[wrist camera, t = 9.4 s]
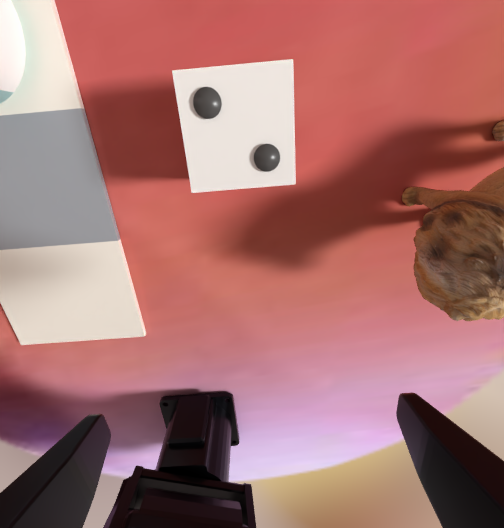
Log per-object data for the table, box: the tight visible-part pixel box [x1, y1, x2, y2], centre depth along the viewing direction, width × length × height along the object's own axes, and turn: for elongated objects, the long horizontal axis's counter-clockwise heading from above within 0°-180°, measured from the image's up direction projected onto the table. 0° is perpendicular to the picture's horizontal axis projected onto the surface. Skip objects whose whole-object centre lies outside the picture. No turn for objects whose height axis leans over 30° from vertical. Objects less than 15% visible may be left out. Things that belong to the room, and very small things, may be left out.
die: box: [172, 59, 296, 193], centre depth 15 cm, size 5×5×5 cm
